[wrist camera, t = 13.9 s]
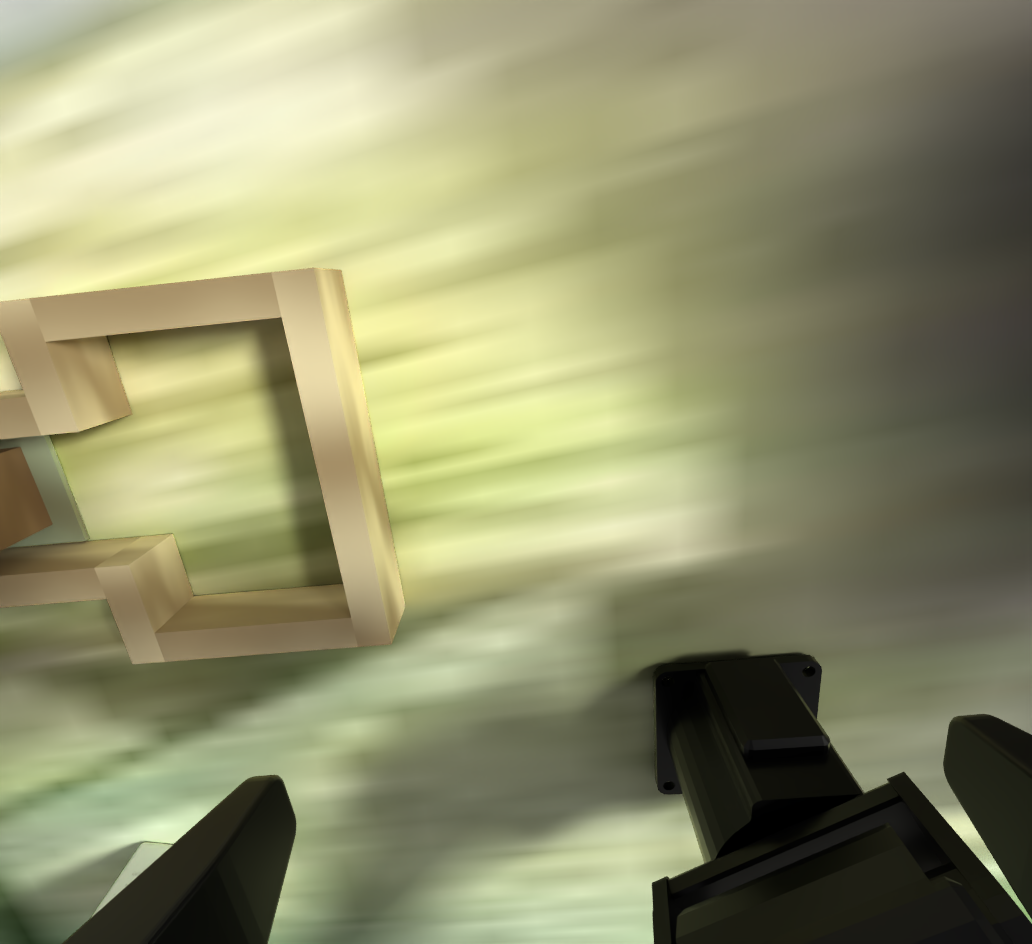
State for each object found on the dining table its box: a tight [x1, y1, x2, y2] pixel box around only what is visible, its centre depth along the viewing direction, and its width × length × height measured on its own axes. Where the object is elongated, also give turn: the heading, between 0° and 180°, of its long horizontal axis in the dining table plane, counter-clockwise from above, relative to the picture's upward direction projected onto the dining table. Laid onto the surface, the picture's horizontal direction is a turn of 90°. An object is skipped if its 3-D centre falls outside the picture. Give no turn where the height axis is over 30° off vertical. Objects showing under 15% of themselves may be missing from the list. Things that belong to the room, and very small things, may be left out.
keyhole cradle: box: [0, 268, 405, 664], centre depth 18 cm, size 12×18×2 cm
